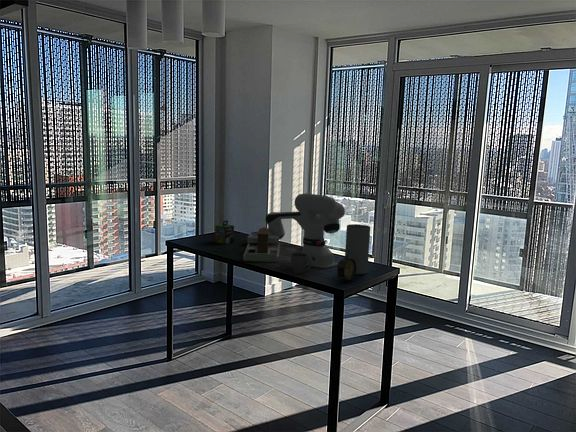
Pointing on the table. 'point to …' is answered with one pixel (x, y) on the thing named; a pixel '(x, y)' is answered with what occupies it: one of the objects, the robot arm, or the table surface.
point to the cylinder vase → (358, 246)
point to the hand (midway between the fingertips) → (262, 242)
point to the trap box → (261, 254)
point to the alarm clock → (346, 268)
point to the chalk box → (224, 233)
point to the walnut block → (263, 241)
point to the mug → (300, 262)
